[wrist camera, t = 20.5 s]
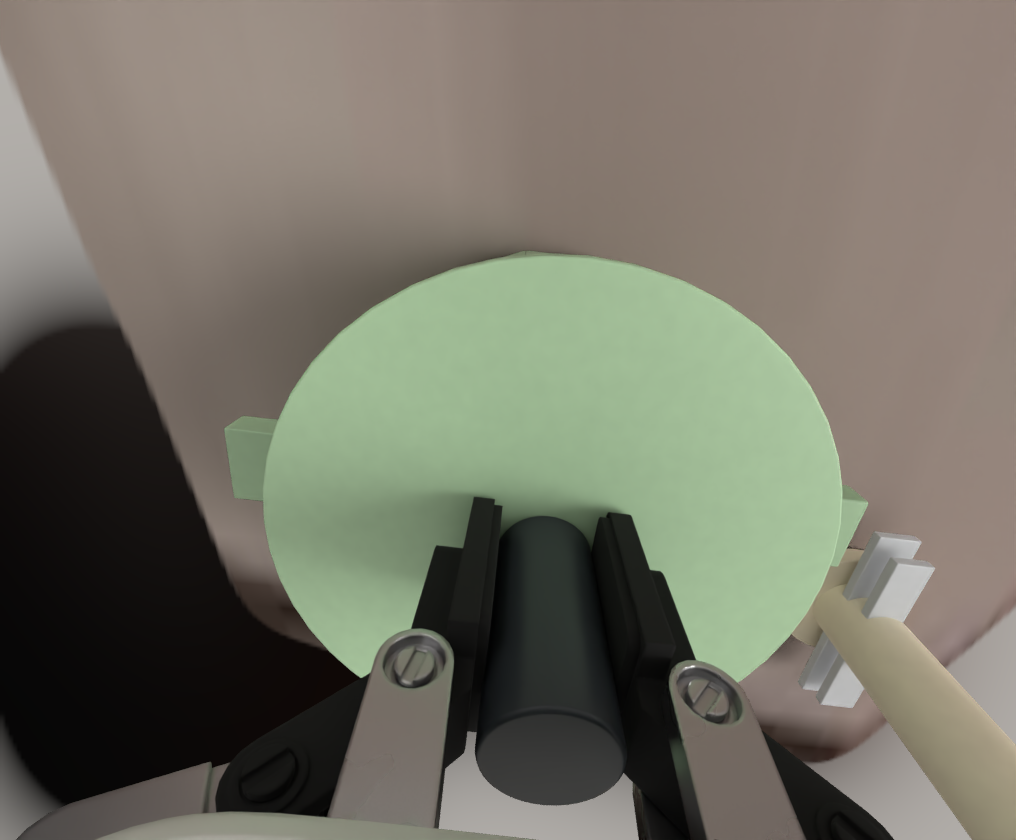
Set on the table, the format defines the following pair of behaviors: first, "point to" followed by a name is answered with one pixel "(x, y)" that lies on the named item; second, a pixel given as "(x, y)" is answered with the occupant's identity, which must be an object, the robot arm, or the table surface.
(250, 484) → the pot
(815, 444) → the lid
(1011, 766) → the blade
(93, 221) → the table surface
